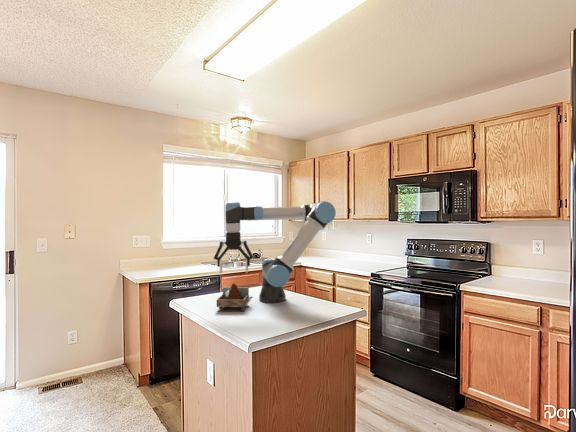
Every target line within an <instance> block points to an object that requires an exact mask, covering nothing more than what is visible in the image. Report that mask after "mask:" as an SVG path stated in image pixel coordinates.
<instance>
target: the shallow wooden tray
mask: <svg viewBox="0 0 576 432" xmlns="http://www.w3.org/2000/svg"><path fill="white" fill-rule="evenodd" d="M237 287H238V288H239V290H240V292H241V294H242V300H226V298H227V297H226V296H225V293H226V292H227V291H228V290H230V289H231V286H230V287H228V286H227V287H225V286H222V294H221V295H220V296H219V297H218V298H217V299H216V308H219V309H218V310H220V309H222V307H224V308H240V310H241V309H243V308H244V307H245V305H246V304H247V302H248V301H249V297H250V295H249V294H250V293H249V292H250V291H249V289H250V288H249V287H247V286H245V287H242V286H237ZM249 302H250V301H249ZM249 302H248V303H249ZM247 305H248V304H247ZM247 305H246V306H247ZM245 308H246V307H245Z"/></svg>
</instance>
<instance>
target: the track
mask: <svg viewBox="0 0 576 432" xmlns="http://www.w3.org/2000/svg"><path fill="white" fill-rule="evenodd" d="M252 298H253V296H249V301H248V302H247V304H246V305H245V307H244V308H243V309H241V308H240V309H239V310H224V308H225V307H222V309H218V310H217V313H244V312H245V311H244V310H245V309H246V307H247V305H248V304H249V302H250V301H251V299H252Z"/></svg>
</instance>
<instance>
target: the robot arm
mask: <svg viewBox="0 0 576 432" xmlns="http://www.w3.org/2000/svg"><path fill="white" fill-rule="evenodd" d="M224 213H225V231H226V233H225V241H222V240H221V241H219V246H218V248H217V250H216V253H215V255H214V257H213V260H217V267H219V274H222V273H223V260H221V259H222V258H223V257H224V256H225V254H226V253H227V252H228V251H229V250H230V251H232V250H234V251H236V250H238V251H239V252H240V253H241V254H242V256H243V257H244V258H245V273H248V272H249V267H250V266H251V260H252V259H254V255H253V254H252V252H251V250H250V248H249V246H248V242H247V240H243V241H242V239H241V232H240V231H241V221H276V220H277V221H282V220H284V221H285V220H286V221H287V220H289V221H291V220H293V221H296V220H297V221H298V220H301V221H302V222H305V223H304V224H303V225H302V226H301V228H300V229H299V230H298V232H297V233H296V234H295V236H294V237H293V239H292V240H291V241H290V243H289V244H288V245H287V247H286V248H285V249H284V251H283V252H282V253H281V255H279V256H276V257H275V258H274V259H263V260H262V263H261V267H262V269H261V272H262V273H261V275H262V276H261V277H262V280H261V281H262V284H261V290H260V292H259V297H258V299H259V301H260V302H263V303H270V304H271V303H280V302H284V301H286V297H287V296H286V292H285V290H284V286H286V284H287V283H288V282H289V280H290V278H291V277H290V276H291V274H292V273H293V271H294V270H295V269H294V266H295V264H296V263H297V261H298V260H299V259H300V257H301V256H302V254H303V253H304V252H305V251H306V249H308V246H310V243H311V242H312V241H313V240H314V238H315V237H316V235H317V234H318V233H319V231H323V230H324V229H325V228H326V226H327V225H328V224H329V223H331V222H333V220H334V219H335V217H336V215H337V213H336V208H335V206H334V205H333V204H332V203H331V202H329V201H324V200H323V201H319V202H315V203H310V204H302V205H300V206H262V205H245V206H244V205H243V206H242V205H241V203H240V202H226V203H225V212H224ZM241 245H243V246H244V249H245V250H243V247H241ZM223 246H226V248H225V249H223ZM222 249H223V251H222ZM221 251H222V252H221ZM245 251H246V252H245Z"/></svg>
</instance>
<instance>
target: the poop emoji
mask: <svg viewBox="0 0 576 432" xmlns="http://www.w3.org/2000/svg"><path fill="white" fill-rule="evenodd" d="M230 287H231V289H230V290H228V291H227V292H226V293H225V296H226V297H227V298H226V300H242V294H241V292H240V290H239V288H238V287H239V286H237V285H236V284H235V283H232V284H231V286H230Z"/></svg>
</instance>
